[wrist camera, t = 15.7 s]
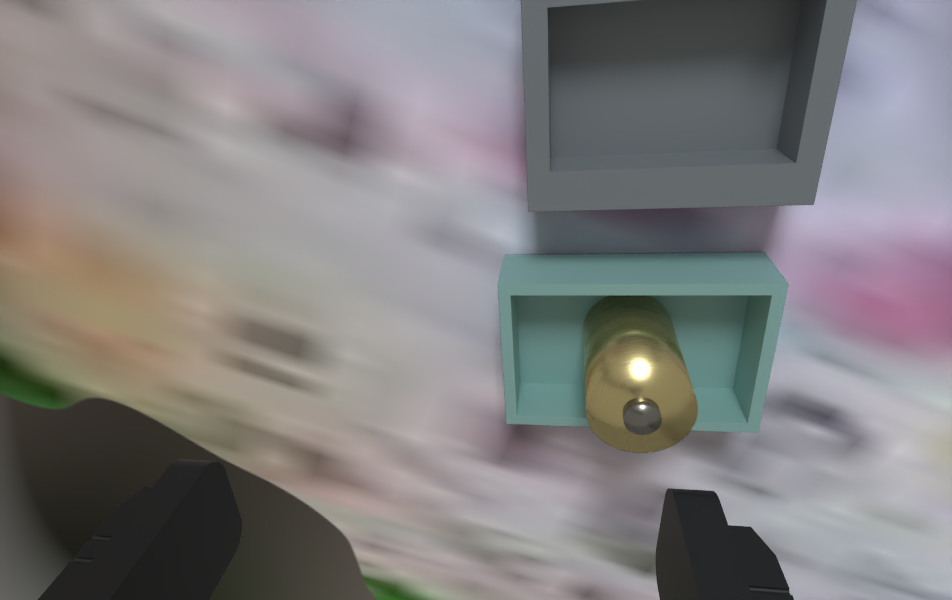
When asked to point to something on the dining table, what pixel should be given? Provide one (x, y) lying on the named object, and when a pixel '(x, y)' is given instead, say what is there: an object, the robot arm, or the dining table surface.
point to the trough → (692, 313)
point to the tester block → (679, 101)
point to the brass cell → (636, 375)
